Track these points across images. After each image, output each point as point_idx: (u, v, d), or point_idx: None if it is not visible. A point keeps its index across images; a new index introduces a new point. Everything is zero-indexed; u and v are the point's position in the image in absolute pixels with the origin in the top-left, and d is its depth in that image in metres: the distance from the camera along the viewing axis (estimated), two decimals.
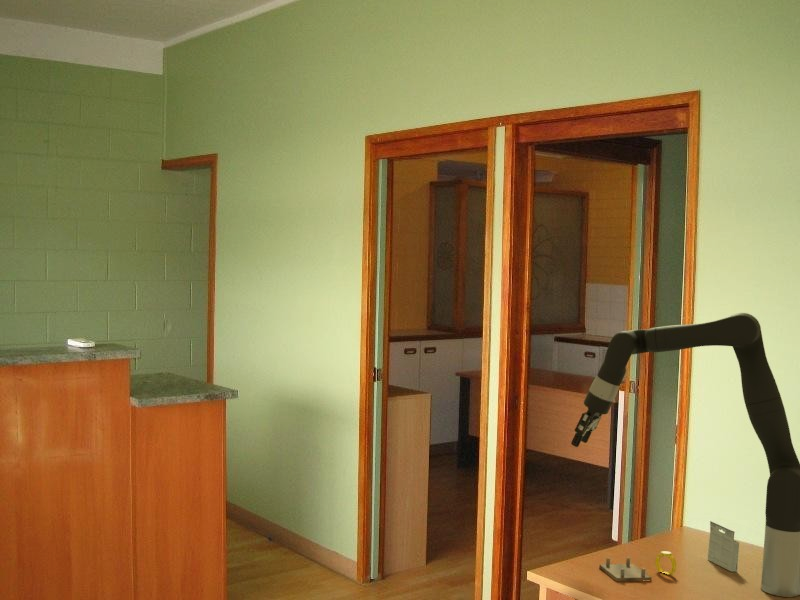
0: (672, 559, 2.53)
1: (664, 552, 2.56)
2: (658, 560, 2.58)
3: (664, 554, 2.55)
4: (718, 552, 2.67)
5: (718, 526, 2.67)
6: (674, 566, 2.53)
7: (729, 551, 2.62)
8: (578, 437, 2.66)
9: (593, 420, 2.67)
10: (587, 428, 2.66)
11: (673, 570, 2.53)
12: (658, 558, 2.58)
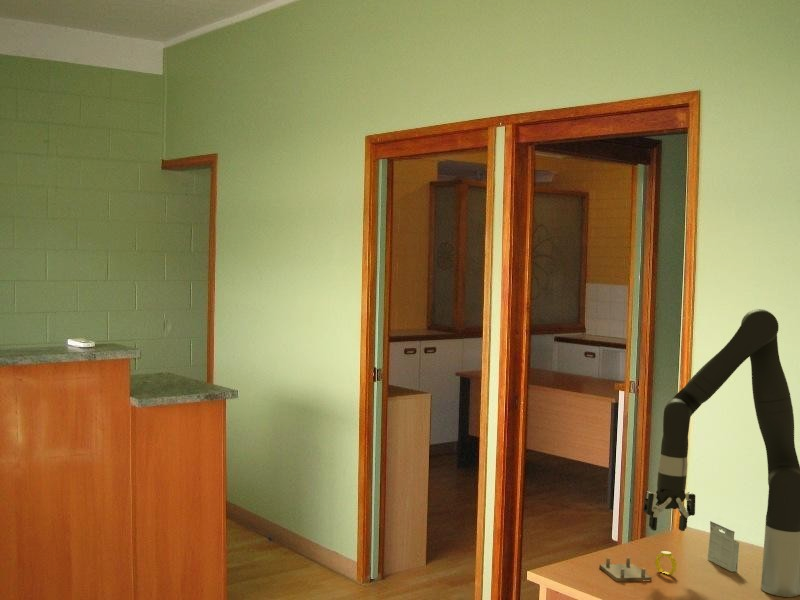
0: (672, 559, 2.53)
1: (664, 552, 2.56)
2: (658, 560, 2.58)
3: (664, 554, 2.55)
4: (718, 552, 2.67)
5: (718, 526, 2.67)
6: (674, 566, 2.53)
7: (729, 551, 2.62)
8: (651, 519, 2.54)
9: (665, 499, 2.53)
10: (658, 508, 2.53)
11: (673, 570, 2.53)
12: (658, 558, 2.58)
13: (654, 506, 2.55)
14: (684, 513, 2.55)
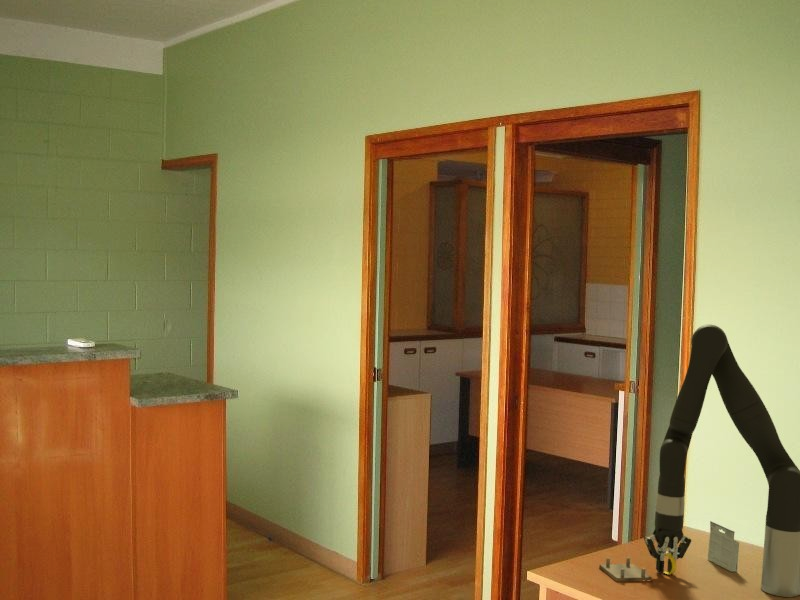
0: (672, 559, 2.53)
1: None
2: None
3: None
4: (718, 552, 2.67)
5: (718, 526, 2.67)
6: (674, 566, 2.53)
7: (729, 551, 2.62)
8: (658, 562, 2.55)
9: (663, 540, 2.53)
10: (661, 551, 2.54)
11: (673, 570, 2.53)
12: None
13: (657, 549, 2.56)
14: (674, 555, 2.55)
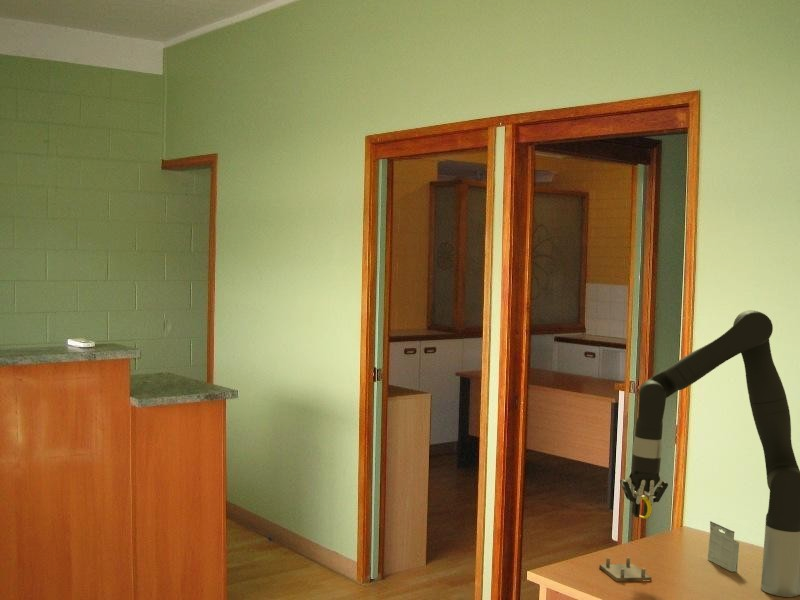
0: (647, 503, 2.52)
1: None
2: None
3: None
4: (718, 552, 2.67)
5: (718, 526, 2.67)
6: (649, 509, 2.51)
7: (729, 551, 2.62)
8: (634, 505, 2.53)
9: (639, 483, 2.52)
10: (637, 494, 2.52)
11: (648, 513, 2.51)
12: None
13: (634, 492, 2.54)
14: (650, 498, 2.53)
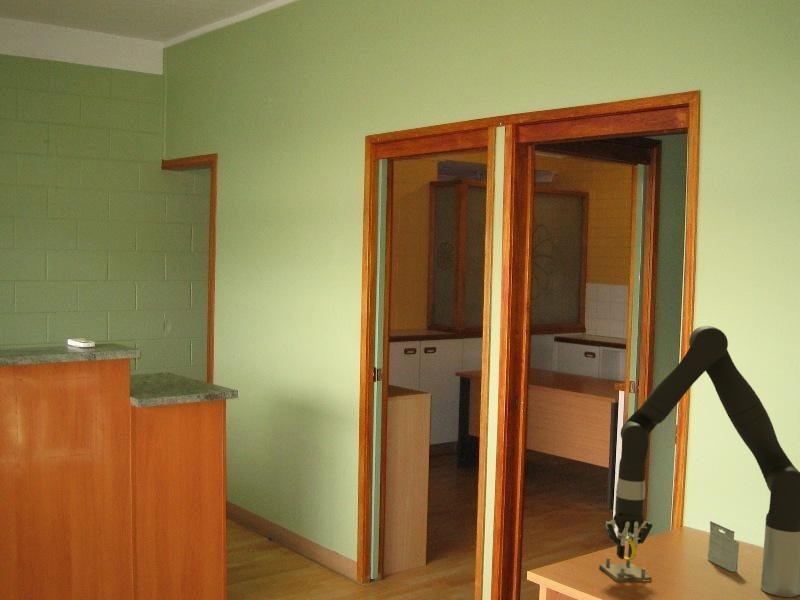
0: (632, 544, 2.51)
1: None
2: None
3: None
4: (718, 552, 2.67)
5: (718, 526, 2.67)
6: (634, 551, 2.50)
7: (729, 551, 2.62)
8: (619, 547, 2.52)
9: (624, 525, 2.51)
10: (622, 536, 2.51)
11: (633, 555, 2.50)
12: None
13: (618, 534, 2.53)
14: (634, 540, 2.52)
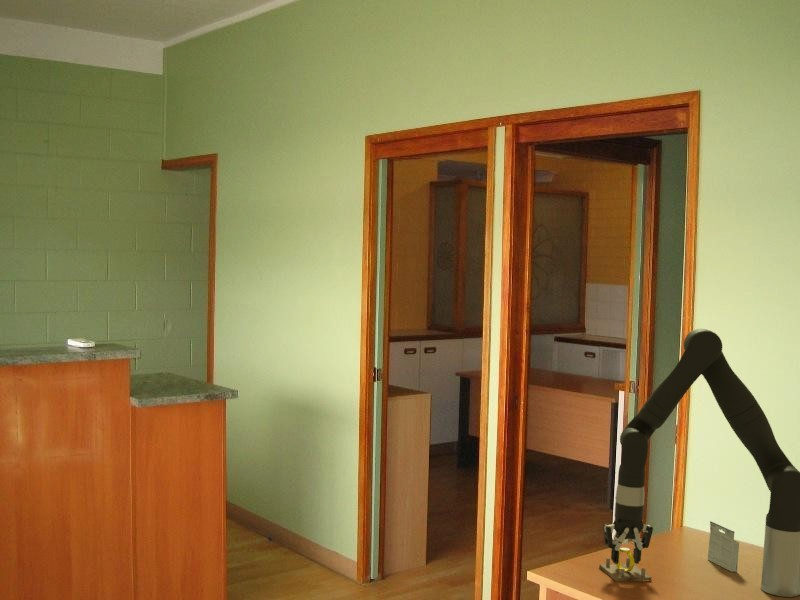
0: (630, 556, 2.51)
1: (623, 548, 2.53)
2: None
3: (622, 550, 2.52)
4: (718, 552, 2.67)
5: (718, 526, 2.67)
6: (632, 562, 2.50)
7: (729, 551, 2.62)
8: (613, 552, 2.52)
9: (623, 530, 2.51)
10: (618, 541, 2.51)
11: (631, 567, 2.51)
12: None
13: (614, 538, 2.53)
14: (638, 545, 2.52)
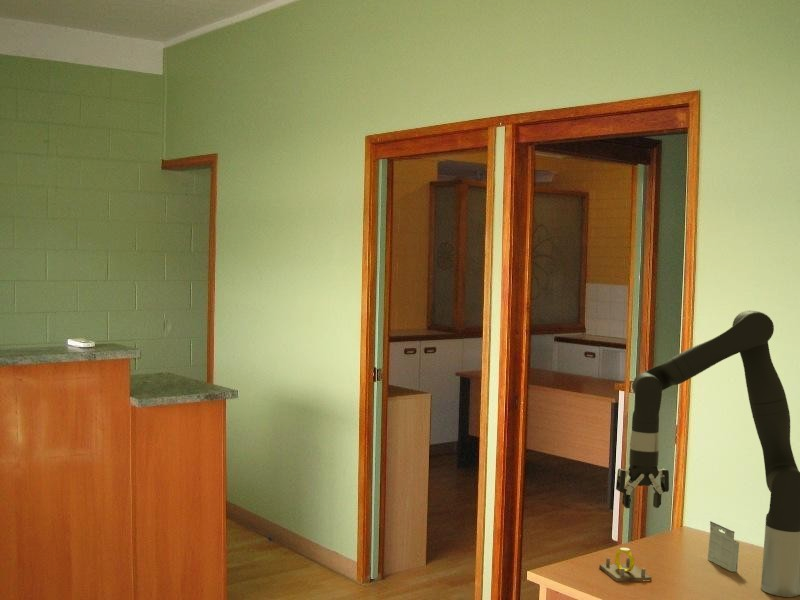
0: (630, 556, 2.51)
1: (623, 548, 2.53)
2: (617, 557, 2.55)
3: (622, 550, 2.52)
4: (718, 552, 2.67)
5: (718, 526, 2.67)
6: (632, 562, 2.50)
7: (729, 551, 2.62)
8: (624, 496, 2.49)
9: (637, 476, 2.49)
10: (631, 485, 2.49)
11: (631, 567, 2.51)
12: (617, 555, 2.55)
13: (627, 483, 2.51)
14: (658, 489, 2.50)
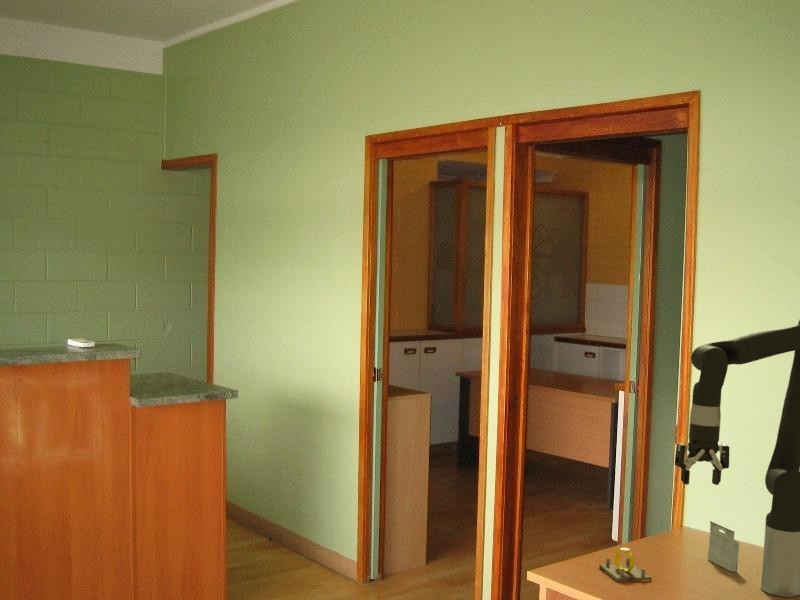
0: (630, 556, 2.51)
1: (623, 548, 2.53)
2: (617, 557, 2.55)
3: (622, 550, 2.52)
4: (718, 552, 2.67)
5: (718, 526, 2.67)
6: (632, 562, 2.50)
7: (729, 551, 2.62)
8: (683, 472, 2.41)
9: (698, 451, 2.40)
10: (690, 461, 2.40)
11: (631, 567, 2.51)
12: (617, 555, 2.55)
13: (686, 459, 2.42)
14: (718, 466, 2.42)
